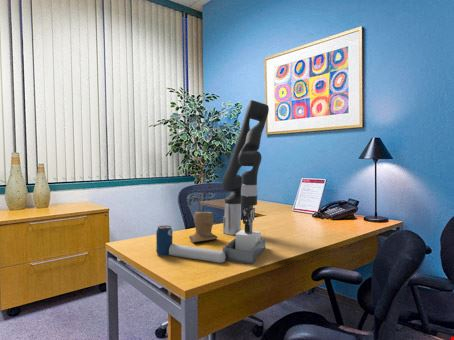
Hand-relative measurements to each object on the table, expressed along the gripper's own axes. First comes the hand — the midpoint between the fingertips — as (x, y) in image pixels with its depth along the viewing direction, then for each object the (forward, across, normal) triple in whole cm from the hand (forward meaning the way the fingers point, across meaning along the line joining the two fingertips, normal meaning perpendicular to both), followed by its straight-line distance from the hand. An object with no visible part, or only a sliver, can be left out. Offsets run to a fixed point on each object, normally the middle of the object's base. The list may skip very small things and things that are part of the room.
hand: (248, 231), depth 141 cm
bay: (+9, +5, 0) cm, 10 cm away
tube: (+9, +19, -17) cm, 27 cm away
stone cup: (+9, -8, -27) cm, 30 cm away
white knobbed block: (+8, 0, 0) cm, 8 cm away
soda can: (+9, +19, -33) cm, 39 cm away
